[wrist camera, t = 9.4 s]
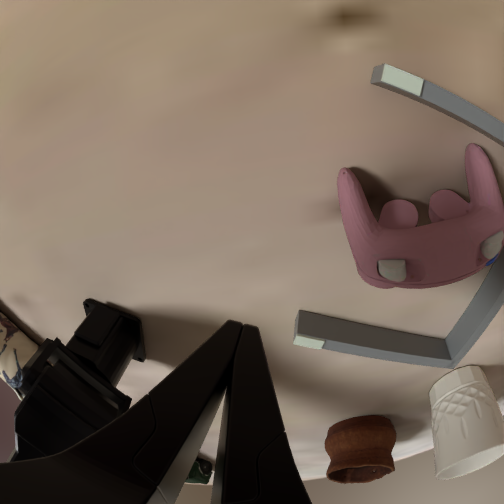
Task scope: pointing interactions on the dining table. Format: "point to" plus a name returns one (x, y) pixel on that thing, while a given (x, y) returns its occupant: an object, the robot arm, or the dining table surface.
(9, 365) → the pencil case
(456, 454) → the white cup
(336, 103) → the dining table surface
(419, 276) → the video game controller
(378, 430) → the ceramic pot
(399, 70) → the frame
